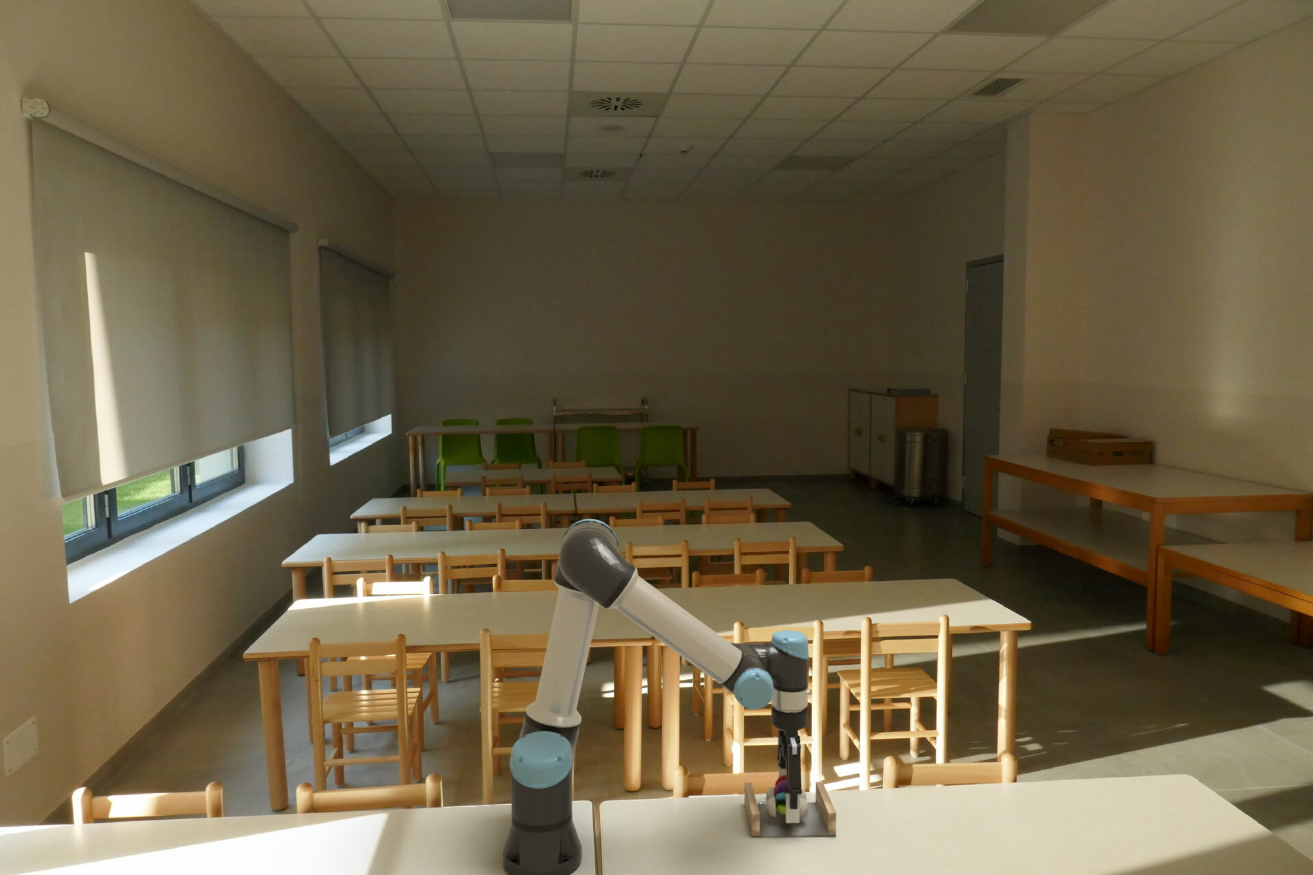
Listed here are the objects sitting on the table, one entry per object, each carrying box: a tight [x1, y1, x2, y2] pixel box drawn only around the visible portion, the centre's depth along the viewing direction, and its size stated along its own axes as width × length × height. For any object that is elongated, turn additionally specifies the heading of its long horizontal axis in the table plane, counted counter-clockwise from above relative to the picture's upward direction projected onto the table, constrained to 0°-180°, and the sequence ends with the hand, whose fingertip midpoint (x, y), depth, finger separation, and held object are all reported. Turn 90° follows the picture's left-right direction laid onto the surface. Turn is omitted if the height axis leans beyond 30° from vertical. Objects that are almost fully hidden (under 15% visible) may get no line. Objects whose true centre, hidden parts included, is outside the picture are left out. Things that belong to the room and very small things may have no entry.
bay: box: [743, 781, 837, 838], centre depth 196 cm, size 17×14×5 cm
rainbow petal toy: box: [765, 775, 808, 818], centre depth 196 cm, size 8×10×7 cm
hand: (788, 809), depth 196 cm, fingers closed on rainbow petal toy, 10 cm apart
